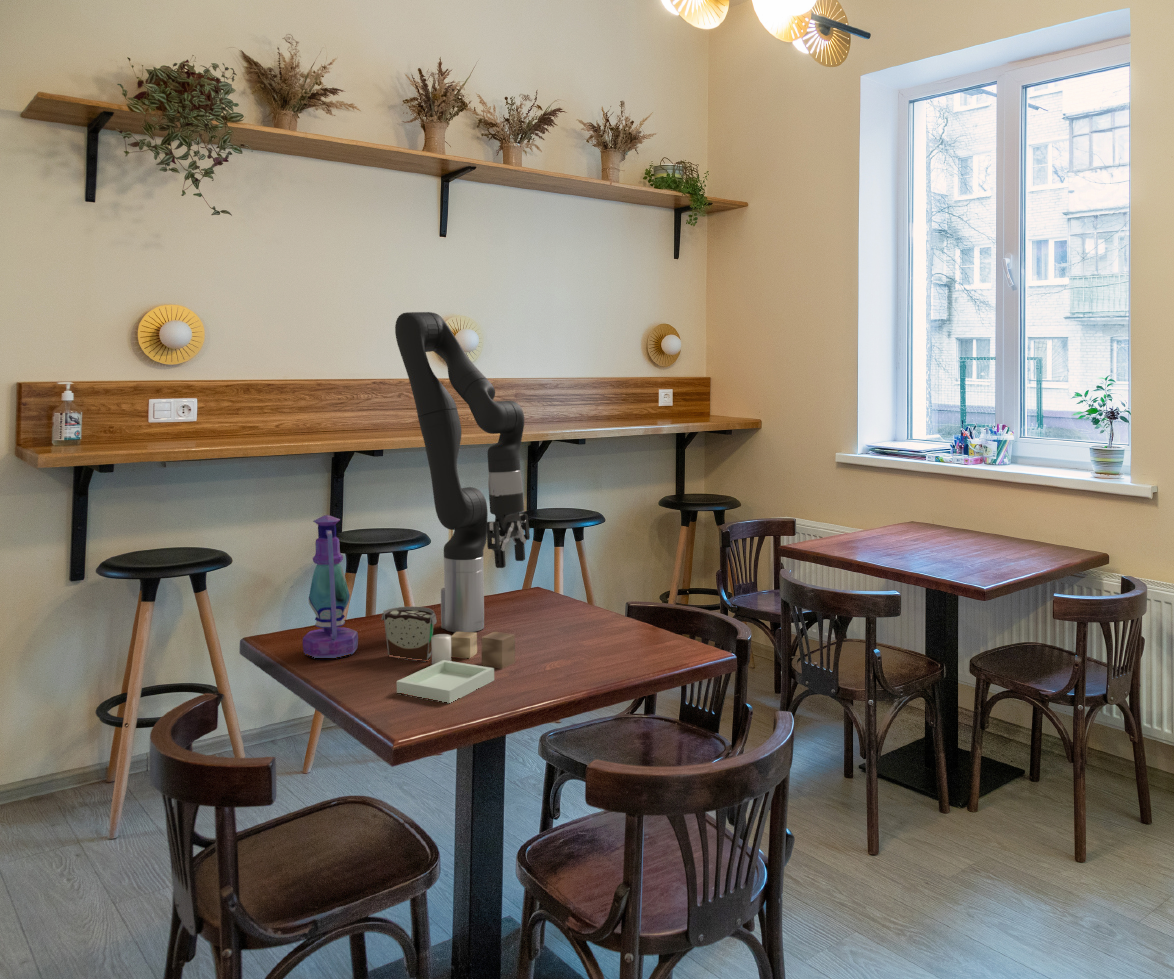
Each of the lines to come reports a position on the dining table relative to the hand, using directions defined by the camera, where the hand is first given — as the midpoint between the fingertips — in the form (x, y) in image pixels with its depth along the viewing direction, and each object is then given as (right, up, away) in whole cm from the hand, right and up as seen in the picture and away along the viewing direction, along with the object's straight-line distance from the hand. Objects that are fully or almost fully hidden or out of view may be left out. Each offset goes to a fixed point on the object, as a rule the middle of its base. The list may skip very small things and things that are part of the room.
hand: (510, 564), depth 210 cm
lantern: (-38, -19, -7) cm, 43 cm away
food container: (-20, -19, -9) cm, 29 cm away
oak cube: (-9, -19, -8) cm, 23 cm away
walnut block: (-1, -20, -14) cm, 24 cm away
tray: (-10, -21, -29) cm, 37 cm away
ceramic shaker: (-13, -20, -15) cm, 28 cm away
